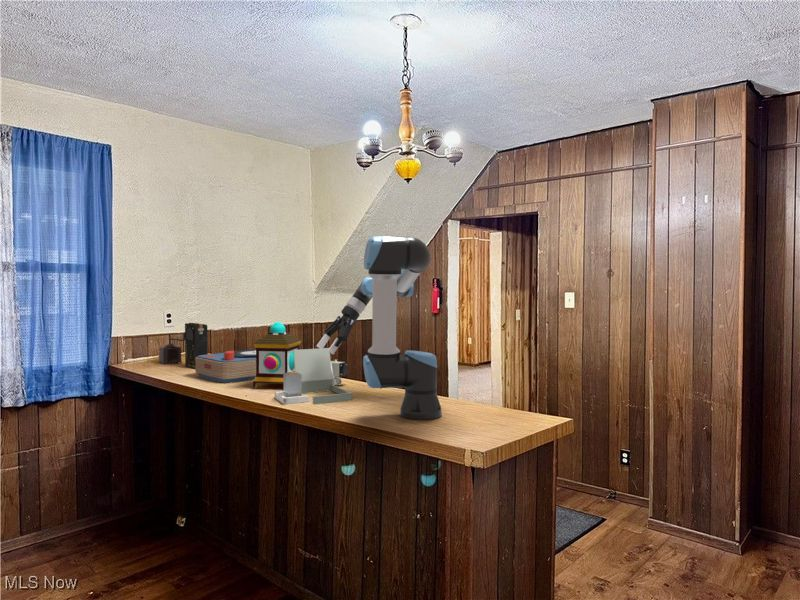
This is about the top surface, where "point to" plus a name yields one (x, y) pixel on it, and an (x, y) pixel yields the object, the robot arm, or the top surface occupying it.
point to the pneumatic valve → (339, 371)
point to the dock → (290, 398)
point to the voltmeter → (195, 342)
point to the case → (318, 375)
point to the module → (292, 384)
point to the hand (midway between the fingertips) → (324, 350)
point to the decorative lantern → (275, 355)
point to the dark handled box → (170, 352)
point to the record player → (227, 366)
